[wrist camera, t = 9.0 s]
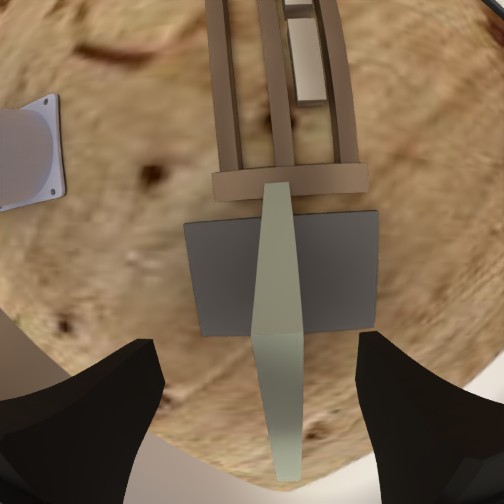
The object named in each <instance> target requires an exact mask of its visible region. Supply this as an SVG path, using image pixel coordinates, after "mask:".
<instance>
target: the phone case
mask: <svg viewBox="0 0 504 504" xmlns="http://www.w3.org/2000/svg"><path fill="white" fill-rule="evenodd" d="M482 1H483V2H484V3H485V4H486V5H487V6H489V7H490V8H491V9H492V10H493V11H494V12H495V13H496V14H497V15H499V16H500V17H501V18H502V19H503V20H504V0H482Z"/></svg>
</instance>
